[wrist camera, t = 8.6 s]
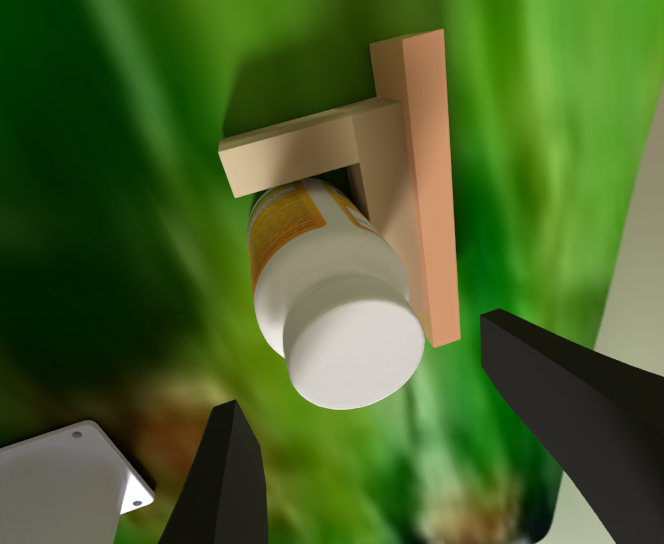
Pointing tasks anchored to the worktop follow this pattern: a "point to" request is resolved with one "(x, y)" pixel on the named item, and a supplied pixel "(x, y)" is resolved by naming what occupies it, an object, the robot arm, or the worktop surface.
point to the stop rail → (426, 167)
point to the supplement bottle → (331, 296)
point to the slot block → (336, 152)
